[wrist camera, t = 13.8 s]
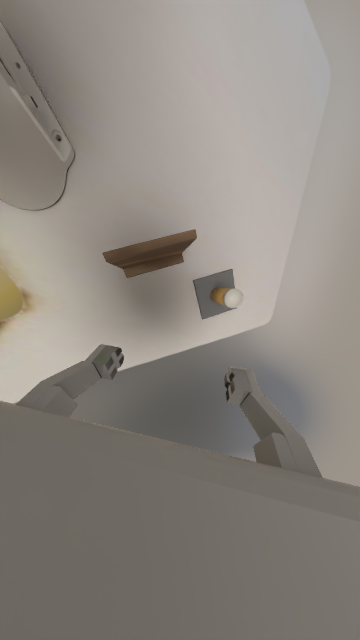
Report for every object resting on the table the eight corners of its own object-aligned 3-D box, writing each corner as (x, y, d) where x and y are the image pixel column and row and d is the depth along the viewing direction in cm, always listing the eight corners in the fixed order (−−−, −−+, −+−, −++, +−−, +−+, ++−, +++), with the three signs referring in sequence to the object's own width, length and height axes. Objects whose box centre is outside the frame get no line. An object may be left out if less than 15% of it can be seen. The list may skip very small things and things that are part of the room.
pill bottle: (208, 289, 34) (224, 291, 27) (222, 285, 35) (241, 286, 27) (211, 304, 36) (226, 310, 28) (225, 300, 36) (243, 304, 29)
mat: (193, 280, 33) (194, 280, 33) (231, 269, 35) (232, 269, 34) (201, 318, 37) (202, 319, 36) (235, 307, 38) (237, 307, 38)
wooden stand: (118, 255, 29) (95, 237, 17) (177, 239, 30) (192, 214, 19) (127, 277, 30) (112, 275, 19) (183, 262, 32) (199, 251, 20)
